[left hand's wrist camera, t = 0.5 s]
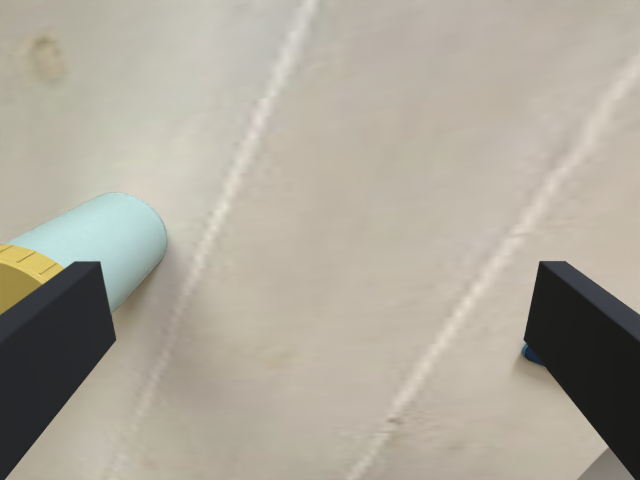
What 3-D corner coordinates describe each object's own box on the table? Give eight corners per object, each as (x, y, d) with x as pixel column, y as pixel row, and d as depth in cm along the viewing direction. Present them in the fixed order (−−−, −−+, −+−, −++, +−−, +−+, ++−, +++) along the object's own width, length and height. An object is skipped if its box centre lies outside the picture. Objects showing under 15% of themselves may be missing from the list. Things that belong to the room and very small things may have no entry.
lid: (119, 288, 27) (102, 305, 25) (71, 397, 30) (52, 421, 28) (-41, 214, 25) (-74, 226, 23) (-75, 338, 28) (-106, 359, 26)
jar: (180, 219, 41) (91, 305, 25) (148, 288, 44) (49, 405, 28) (95, 176, 40) (-58, 238, 24) (67, 250, 42) (-87, 351, 26)
